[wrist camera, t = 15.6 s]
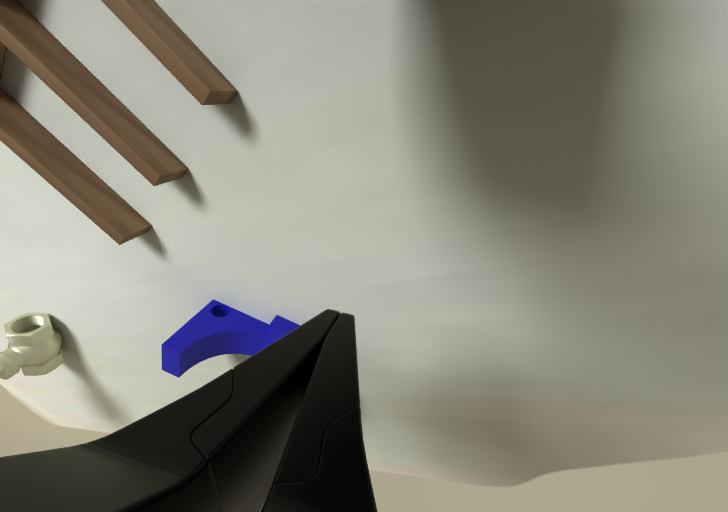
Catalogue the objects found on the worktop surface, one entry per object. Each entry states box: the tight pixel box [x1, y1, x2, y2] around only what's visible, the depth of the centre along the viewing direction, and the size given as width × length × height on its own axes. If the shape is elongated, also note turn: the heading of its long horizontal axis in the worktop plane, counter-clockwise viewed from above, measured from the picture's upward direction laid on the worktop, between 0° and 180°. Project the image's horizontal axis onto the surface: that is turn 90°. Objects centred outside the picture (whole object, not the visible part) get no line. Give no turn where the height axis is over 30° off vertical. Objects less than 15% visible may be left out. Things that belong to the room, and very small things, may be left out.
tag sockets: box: [0, 0, 237, 245], centre depth 20 cm, size 15×20×2 cm
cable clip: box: [162, 299, 300, 377], centre depth 26 cm, size 12×4×6 cm, turn 71°
